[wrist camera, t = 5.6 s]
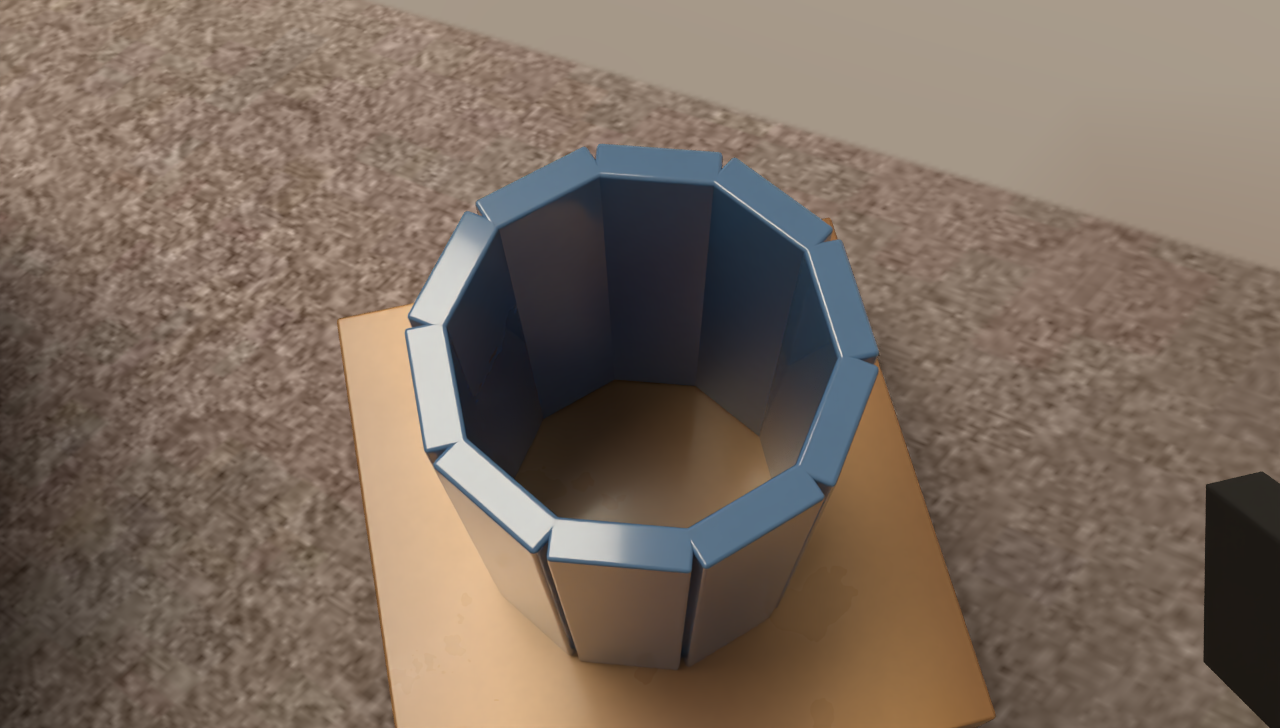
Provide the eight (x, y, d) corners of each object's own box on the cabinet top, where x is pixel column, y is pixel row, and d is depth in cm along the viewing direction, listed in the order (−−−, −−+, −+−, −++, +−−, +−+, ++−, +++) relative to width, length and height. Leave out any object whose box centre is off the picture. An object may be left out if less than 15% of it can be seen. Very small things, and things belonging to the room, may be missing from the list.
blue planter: (756, 324, 26) (797, 102, 18) (845, 630, 23) (936, 516, 16) (458, 387, 25) (379, 185, 18) (517, 707, 23) (452, 626, 15)
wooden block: (809, 295, 30) (830, 216, 27) (949, 740, 26) (998, 718, 23) (375, 387, 30) (335, 317, 26) (447, 862, 25) (413, 859, 22)
